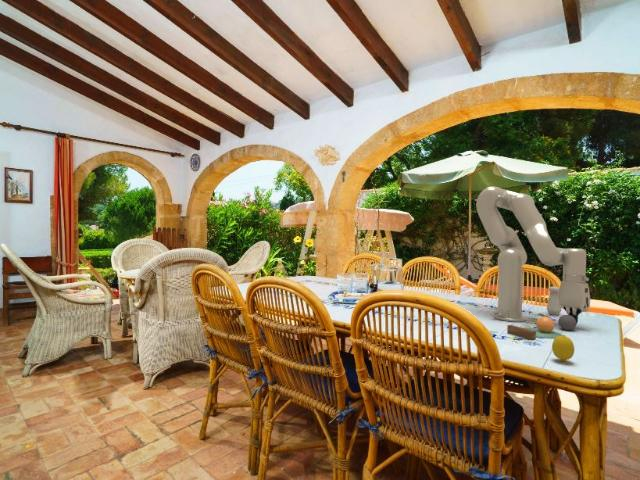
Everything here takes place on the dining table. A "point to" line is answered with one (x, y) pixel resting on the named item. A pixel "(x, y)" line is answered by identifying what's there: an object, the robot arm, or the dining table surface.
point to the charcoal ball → (567, 322)
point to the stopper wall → (521, 332)
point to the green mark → (545, 335)
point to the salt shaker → (553, 301)
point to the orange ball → (545, 324)
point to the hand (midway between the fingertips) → (572, 324)
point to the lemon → (563, 348)
